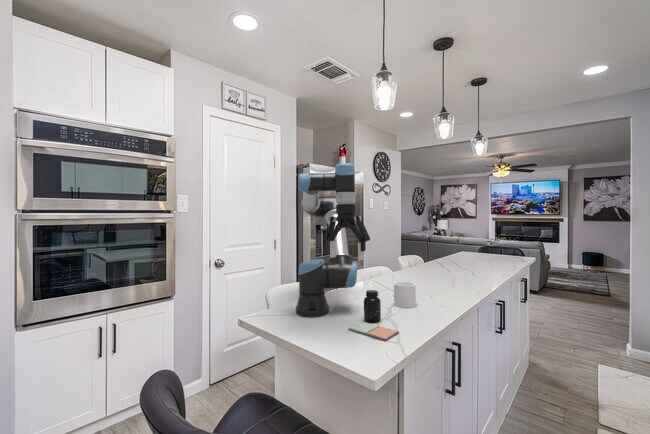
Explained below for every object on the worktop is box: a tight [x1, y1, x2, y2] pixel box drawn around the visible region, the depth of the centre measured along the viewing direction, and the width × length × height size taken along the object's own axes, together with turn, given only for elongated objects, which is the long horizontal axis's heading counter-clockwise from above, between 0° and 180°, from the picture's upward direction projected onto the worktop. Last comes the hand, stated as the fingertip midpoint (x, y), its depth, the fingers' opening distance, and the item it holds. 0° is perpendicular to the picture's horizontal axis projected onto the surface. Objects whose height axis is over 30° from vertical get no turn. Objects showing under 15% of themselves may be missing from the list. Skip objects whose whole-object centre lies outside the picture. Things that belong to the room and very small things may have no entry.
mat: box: [347, 321, 400, 342], centre depth 108 cm, size 16×10×1 cm, turn 47°
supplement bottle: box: [363, 289, 382, 324], centre depth 120 cm, size 7×7×12 cm
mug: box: [393, 281, 417, 309], centre depth 142 cm, size 13×10×10 cm
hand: (346, 258), depth 113 cm, fingers open, 13 cm apart
